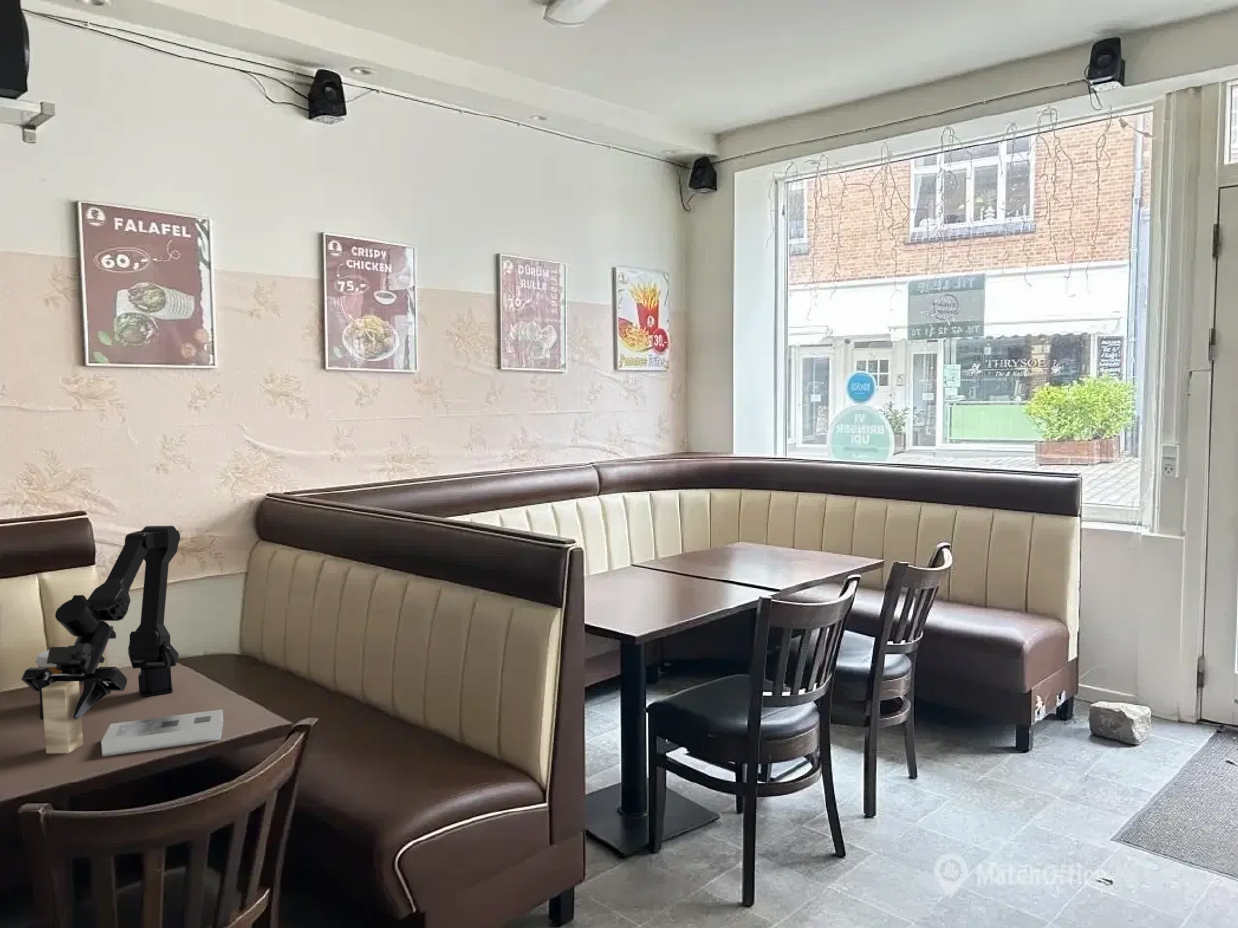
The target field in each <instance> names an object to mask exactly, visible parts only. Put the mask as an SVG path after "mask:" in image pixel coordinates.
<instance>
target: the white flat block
mask: <svg viewBox="0 0 1238 928" xmlns="http://www.w3.org/2000/svg"><path fill="white" fill-rule="evenodd" d="M223 727H224V710H223V709H216V710H207V711H200V712H199V711H198V712H191V713H184V714H177V715H170V716H162V717H154V718H152V717H151V718H146V719H138V720H137V719H136V720H131V721H122V722H116V723H110V724H109V726H108V728H107V729H106V732H105V734H104V736H103V738H102V740H101V741H100V744H101V756H102V757H108V756H114V755H115V756H116V755H122V754H123V755H124V754H129V753H137V752H144V751H150V750H151V751H153V750H157V749H158V750H159V749H165V748H172V747H177V746H179V747H181V746H187V745H193V744H199V743H200V744H201V743H207V742H215V741H221V738H222V733H223Z"/></svg>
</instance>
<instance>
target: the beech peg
mask: <svg viewBox="0 0 1238 928" xmlns="http://www.w3.org/2000/svg"><path fill="white" fill-rule="evenodd" d="M80 697H81V690H80V691H79V681H56V682H54V683H52V684H50V685H48V686H46V687H44V688H42V700H43V714H44V720H43V725H44V739H45V740H44V741H45V742H44V743H45V751H46V752H45V753H46V754H69V753H71V752H73V751H74V750H76V749H77V748H79V747H81V746H83V745H84V740H83V739H84V737H83V725H82V716H81V717H79V718H78V719H77V720H75V719H74V718H73V715H74V712H75V709H76V707H77V704H78V702H79V700H80Z"/></svg>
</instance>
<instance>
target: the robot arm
mask: <svg viewBox="0 0 1238 928" xmlns="http://www.w3.org/2000/svg"><path fill="white" fill-rule="evenodd" d="M180 541H181V533H180V531H179V530H178V529H177V528H176V527H175V525H146V526H144V527H143V528H142V529H141V530H137V531H133V532H130V533H128V534H127V533H126V535H125V538H124V545H123V546H122V548H121V550H120V553H119V554H118V556H117V558H116V560H115V562H114V563H113V566H112V569H111V571H110V572H109V574H108V576H107V578H106V580H105V581H104V582H103V583H102V584H100V585H99V586H97V587H96V588H94V590H93V591H92V592H91V594H90V595H89V597H88V598H86V596H85V595H84V594H74V595H73V596H72V598H71V599H69V600H67V601H65V602H64V603H62V604H61V605H60V606H59V607H58V608H57V609H56V611H55V615H54V617H55V619H56V621H57V622H58V623H59V624H60V625H61V626H63V628H64V629H65V630H66V631H67V632H68V633H69V634H71V636H73V637H76V639H75V641H74V644H73V645H68V646H50V647H49V649H48V650H49V653H48V658H47V664H50V663H52V664H57V665H56V668H57V669H58V670H61V671H62V673H61V674H53V673H52V672H51V671H50V670H49V669H48V668H47V667H39V666H38V667H29V668H26V669H25V670H24V672H23V674H22V676H21V679H20V680H21V681H22V682H24V683H25V684H26V685H27V686H28V687H29V688H31V689H32V690H33V691H34V692H38V693H39V714H38V715H39V719H40V720H41V721H44V714H43V700H42V688H44V687H46V686H48V685H50V684H52V683H54V682H56V681H79V683H81V684H83V690H82V693H81V694H80V700H79V702H78V704H77V707H76V709H75V712H74V715H73V718H74V719H75V720H77V719H78V718H79V717H81V718H82V716H83V715H84V714H85V713H86V712H88V710H90V708H91V707H93V706H94V705H95V704H96V703H98V702H99V701H100V700H102V699H103V698H104V697H105V696H107V695H111V693H112V692H123V691H125V689H126V686H127V684H128V678H127V677H126V675H125V674H124V673H123V672H122V671H121V670H120V669H119V668H118V667H117V666H99V664H104V662H105V659H106V658H105V657H104V656H103V654H104V652H105V650H106V647H107V645H108V643H109V640H113V639H114V640H115V639H117V633H116V631H115V630H114V626H113V625H109V624H108V623H107V622H120V621H122V620H123V619H125V616H126V615H127V613H128V611H129V607H130V604H131V596H130V593H129V592H130V590H131V588H132V587H131V586H132V584H133V582H134V580H135V578H136V577H137V574H138V572H139V570H140V567H141V566H142V564H143V562H145V564H144V565H145V566H144V567H145V569H144V578H143V579H144V580H143V590H142V599H141V600H142V602H141V610H140V611H141V613H140V623H139V625H138V627H137V628H136V630H134V631H133V630H132V631H131V632H130V634H129V642H128V648H127V654H128V657H129V661H130V664H131V667H132V669H134V670H135V669H140V672H138V673H137V677H138V679H137V681H138V692H139V693H140V694H141V697H142V698H143V697H150V696H151V697H152V696H155V695H157V696H158V695H163V694H169V693H173V692H174V690H173V689H174V688H173V682H172V667H176V666H177V664H178V663H179V662H178V661H179V655H180V654H179V652H178V651H177V649H175V648H174V647H173V645H172V644H171V634H170V632H169V631H168V629H167V627H166V625H165V615H166V614H165V613H166V602H167V591H168V590H167V588H168V577H169V576H168V575H169V565H170V562H171V561H172V560H173V558H174V557H175V555H176V554H177V553H178V550H179V549H178V548H179V543H180ZM98 666H99V667H98Z"/></svg>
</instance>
